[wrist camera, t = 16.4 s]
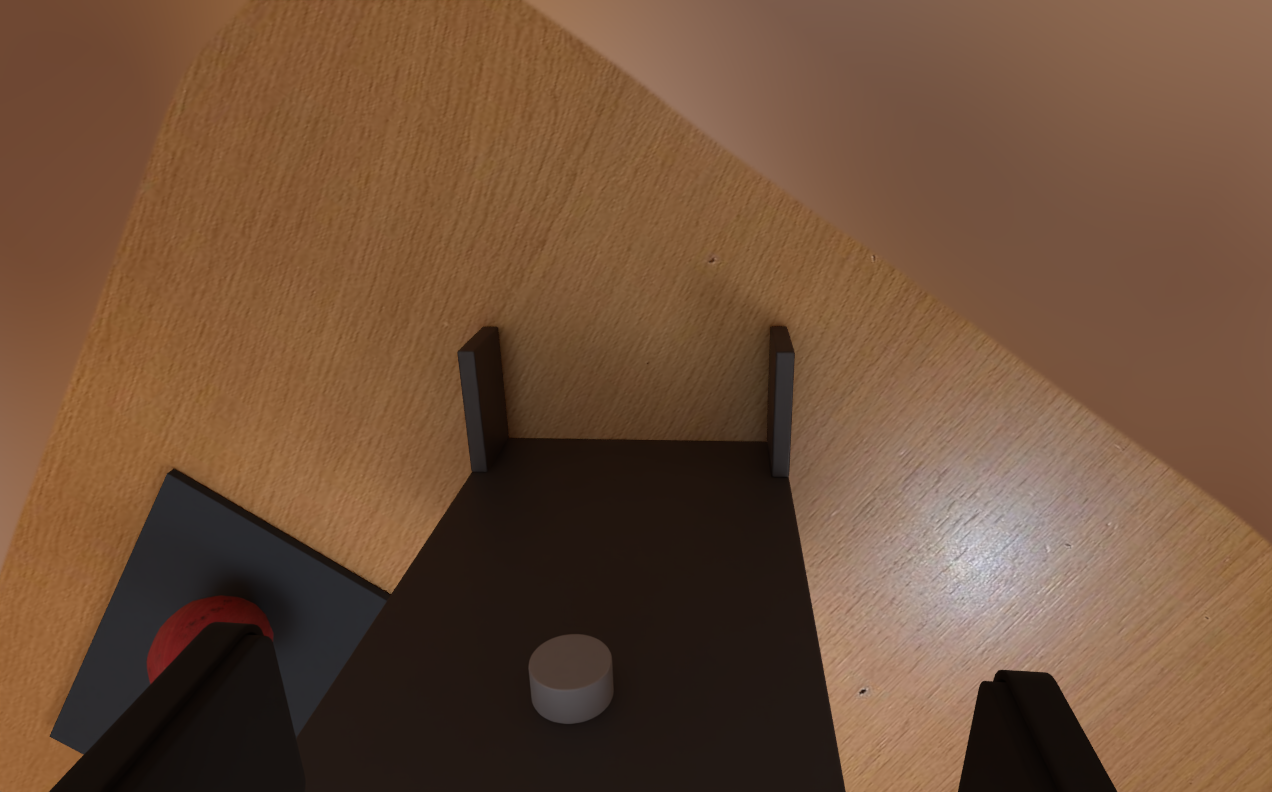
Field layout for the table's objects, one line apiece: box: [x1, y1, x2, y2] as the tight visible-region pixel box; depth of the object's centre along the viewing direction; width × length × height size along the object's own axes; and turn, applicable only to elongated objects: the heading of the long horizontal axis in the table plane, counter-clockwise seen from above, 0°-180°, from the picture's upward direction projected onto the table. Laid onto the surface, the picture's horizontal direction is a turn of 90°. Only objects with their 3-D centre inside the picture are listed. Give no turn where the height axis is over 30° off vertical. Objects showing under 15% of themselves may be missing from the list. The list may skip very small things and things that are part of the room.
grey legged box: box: [296, 326, 846, 792], centre depth 28 cm, size 13×15×25 cm
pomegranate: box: [147, 595, 273, 684], centre depth 41 cm, size 6×6×8 cm
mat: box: [50, 469, 390, 754], centre depth 48 cm, size 24×14×1 cm, turn 147°
